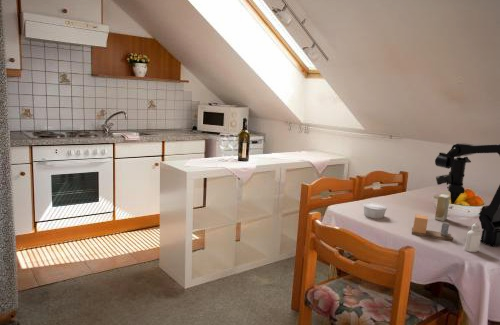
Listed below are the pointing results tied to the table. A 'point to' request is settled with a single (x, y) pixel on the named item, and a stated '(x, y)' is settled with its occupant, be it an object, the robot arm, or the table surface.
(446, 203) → the skincare box
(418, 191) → the table surface
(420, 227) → the orange block
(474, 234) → the eye dropper bottle
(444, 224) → the near post
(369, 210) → the ramekin
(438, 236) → the board
